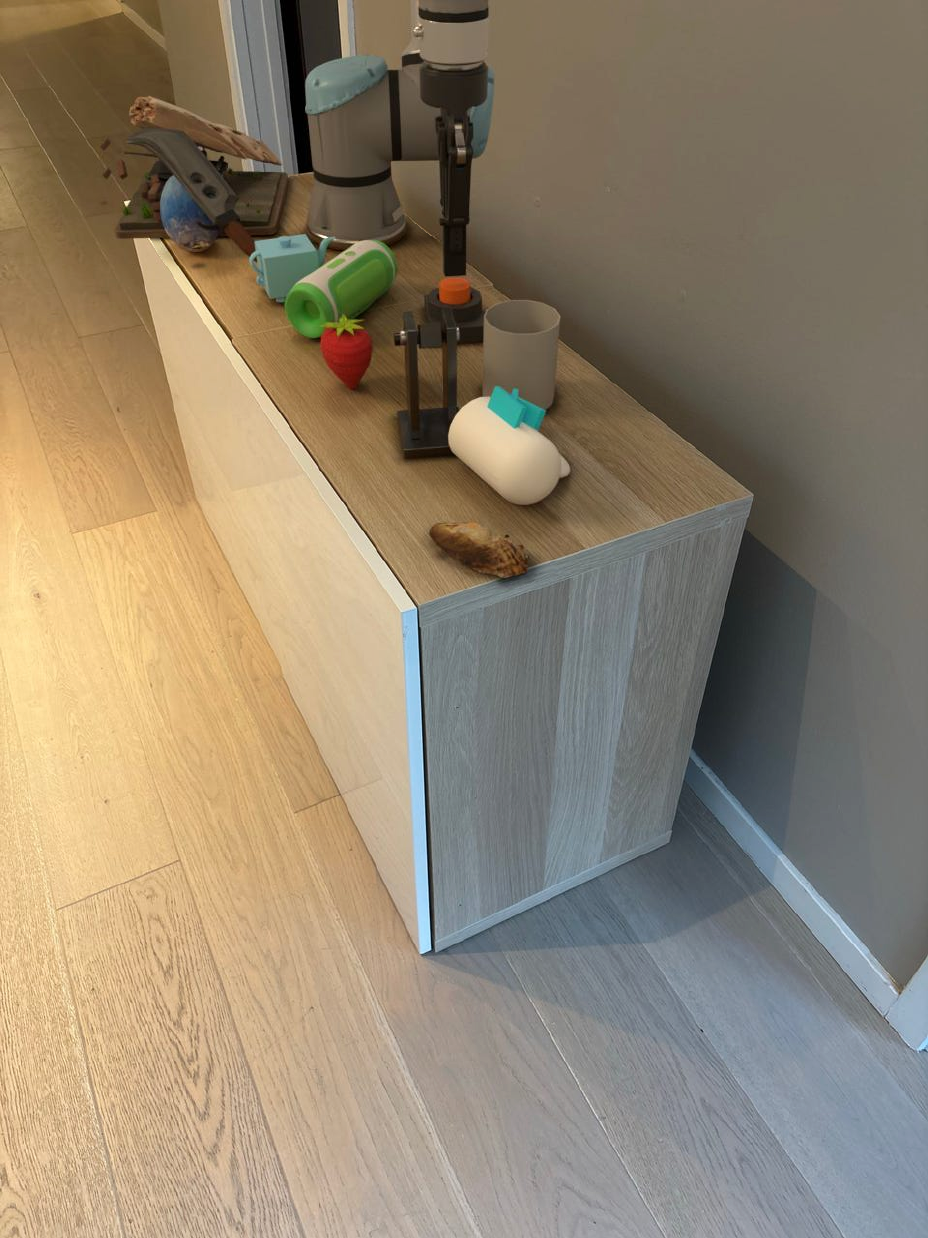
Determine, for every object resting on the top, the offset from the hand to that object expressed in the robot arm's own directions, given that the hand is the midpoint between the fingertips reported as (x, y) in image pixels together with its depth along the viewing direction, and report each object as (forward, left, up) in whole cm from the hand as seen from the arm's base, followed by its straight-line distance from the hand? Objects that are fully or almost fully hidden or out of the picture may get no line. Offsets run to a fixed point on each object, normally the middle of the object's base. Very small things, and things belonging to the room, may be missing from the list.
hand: (454, 273), depth 118 cm
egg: (-24, -34, -7) cm, 42 cm away
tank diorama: (-47, -36, -7) cm, 60 cm away
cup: (+19, +5, -7) cm, 21 cm away
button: (0, 0, -3) cm, 3 cm away
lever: (+21, -6, +1) cm, 22 cm away
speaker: (-5, -14, -7) cm, 17 cm away
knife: (-15, -23, -7) cm, 29 cm away
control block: (0, 0, -7) cm, 7 cm away
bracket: (+26, -6, -7) cm, 27 cm away
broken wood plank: (-50, -33, -1) cm, 60 cm away
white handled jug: (+35, +3, -7) cm, 36 cm away
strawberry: (+14, -14, -7) cm, 22 cm away
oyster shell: (+42, -6, -6) cm, 43 cm away
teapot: (-13, -20, -7) cm, 25 cm away
